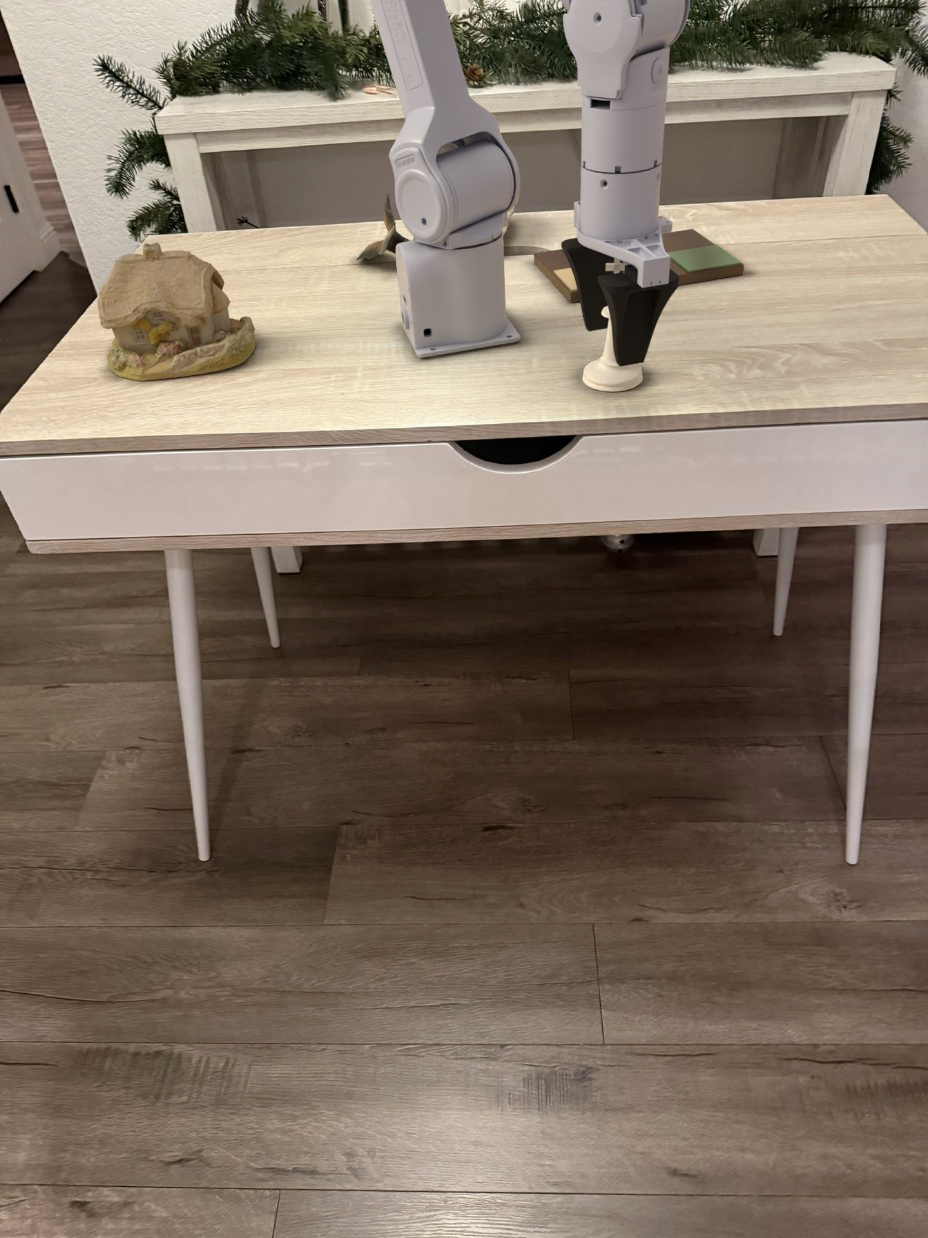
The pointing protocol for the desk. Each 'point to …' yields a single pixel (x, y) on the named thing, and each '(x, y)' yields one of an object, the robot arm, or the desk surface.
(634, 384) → the chess piece
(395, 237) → the brown pointed piece
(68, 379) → the desk surface
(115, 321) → the ceramic model
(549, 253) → the board
